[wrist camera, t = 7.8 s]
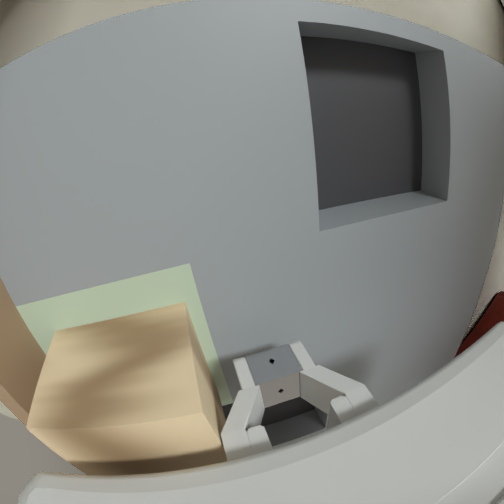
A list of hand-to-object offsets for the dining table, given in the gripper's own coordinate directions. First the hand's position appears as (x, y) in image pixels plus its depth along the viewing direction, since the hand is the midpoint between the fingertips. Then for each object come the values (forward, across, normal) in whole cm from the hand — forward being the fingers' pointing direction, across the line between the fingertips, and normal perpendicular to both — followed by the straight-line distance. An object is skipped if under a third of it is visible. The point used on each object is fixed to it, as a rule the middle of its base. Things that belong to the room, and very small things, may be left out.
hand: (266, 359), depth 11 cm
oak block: (+1, +6, 0) cm, 6 cm away
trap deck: (+4, -4, 0) cm, 5 cm away
